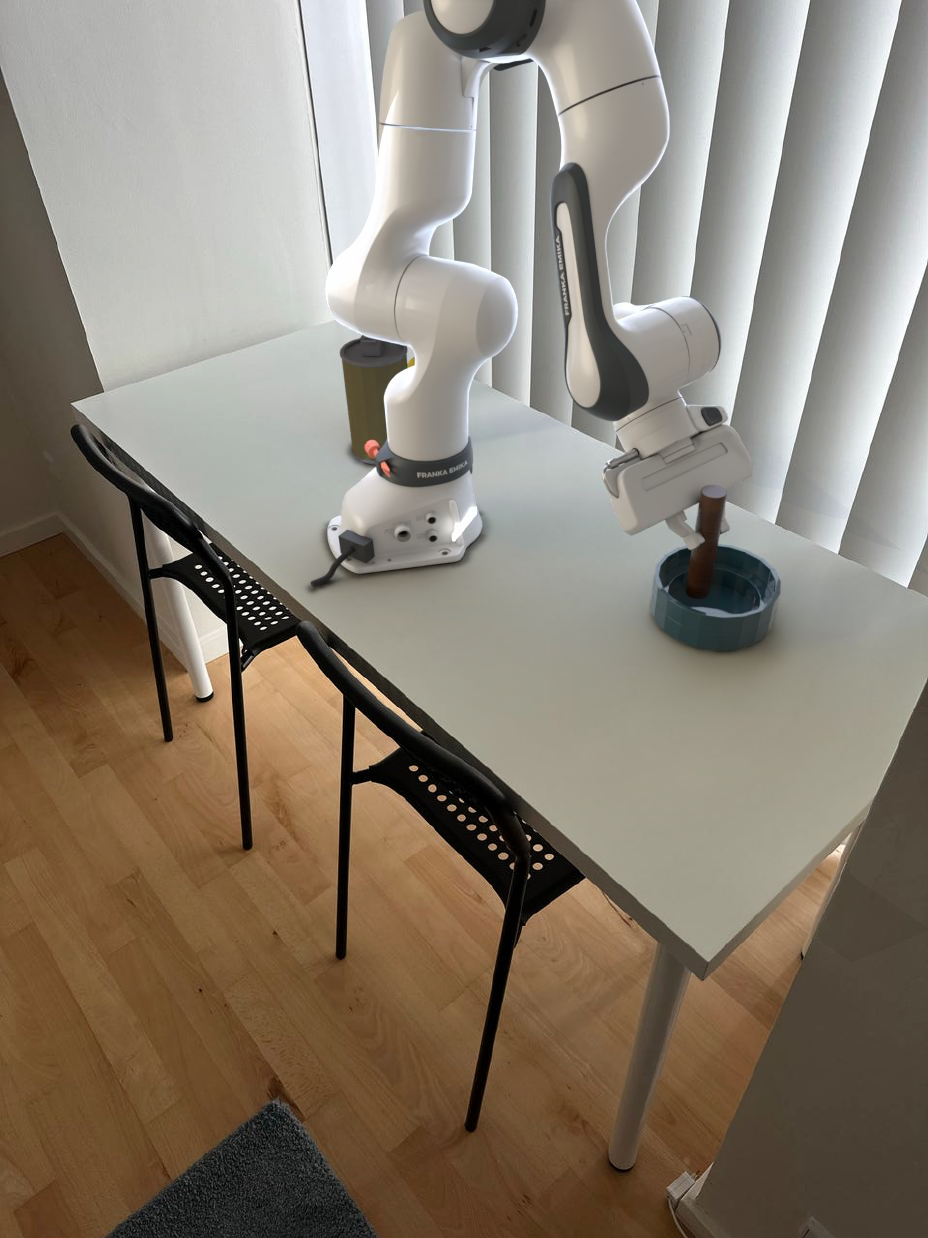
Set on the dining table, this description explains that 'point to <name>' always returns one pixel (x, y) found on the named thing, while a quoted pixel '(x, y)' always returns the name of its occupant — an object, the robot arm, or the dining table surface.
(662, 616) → the bowl
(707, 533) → the stick
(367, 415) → the canister
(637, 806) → the dining table surface
